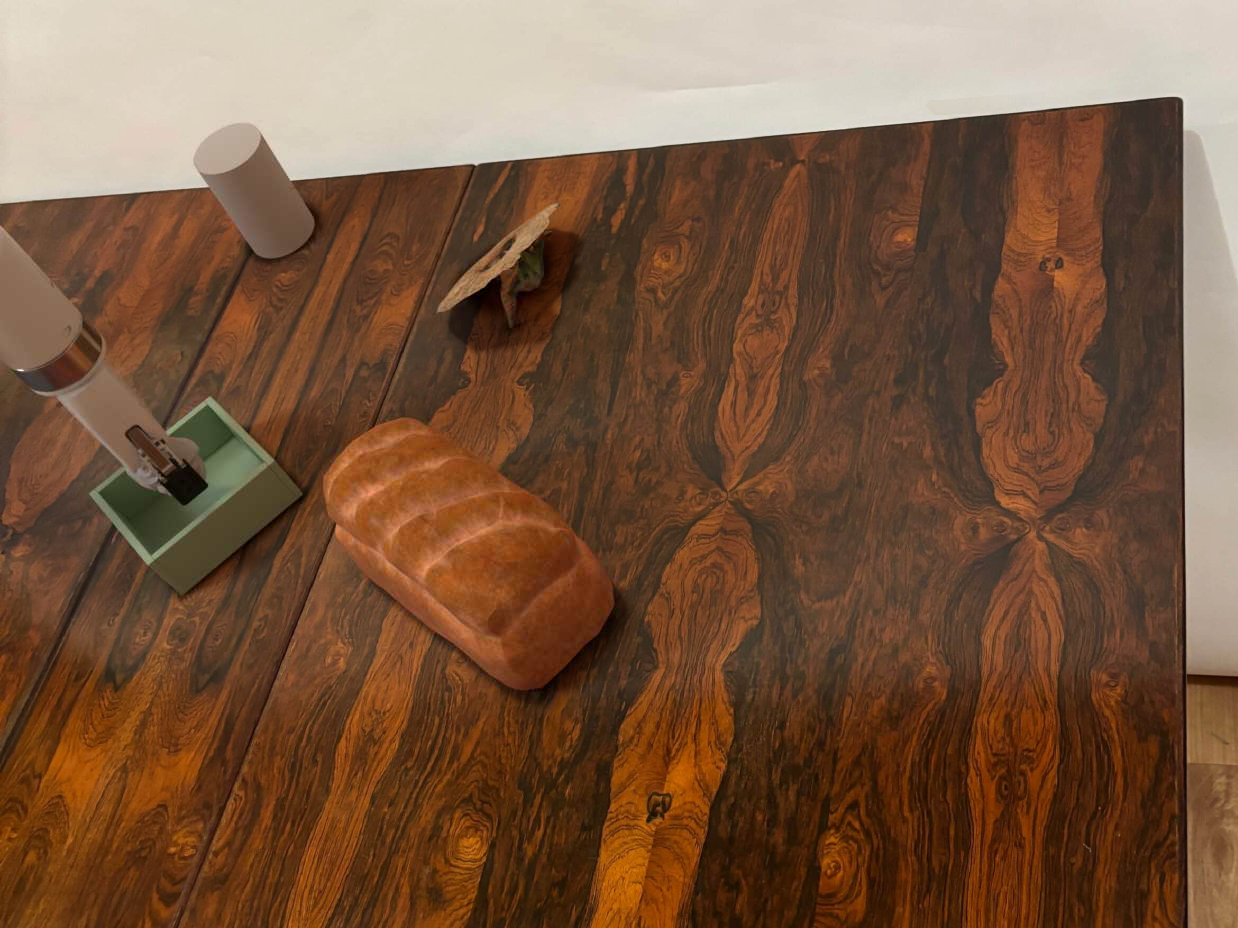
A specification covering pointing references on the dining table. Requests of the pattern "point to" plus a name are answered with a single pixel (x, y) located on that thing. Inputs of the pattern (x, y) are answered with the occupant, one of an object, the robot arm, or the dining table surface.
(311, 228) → the grey tilted cylinder
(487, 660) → the bread
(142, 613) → the dining table surface
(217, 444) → the tub
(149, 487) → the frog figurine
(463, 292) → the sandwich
